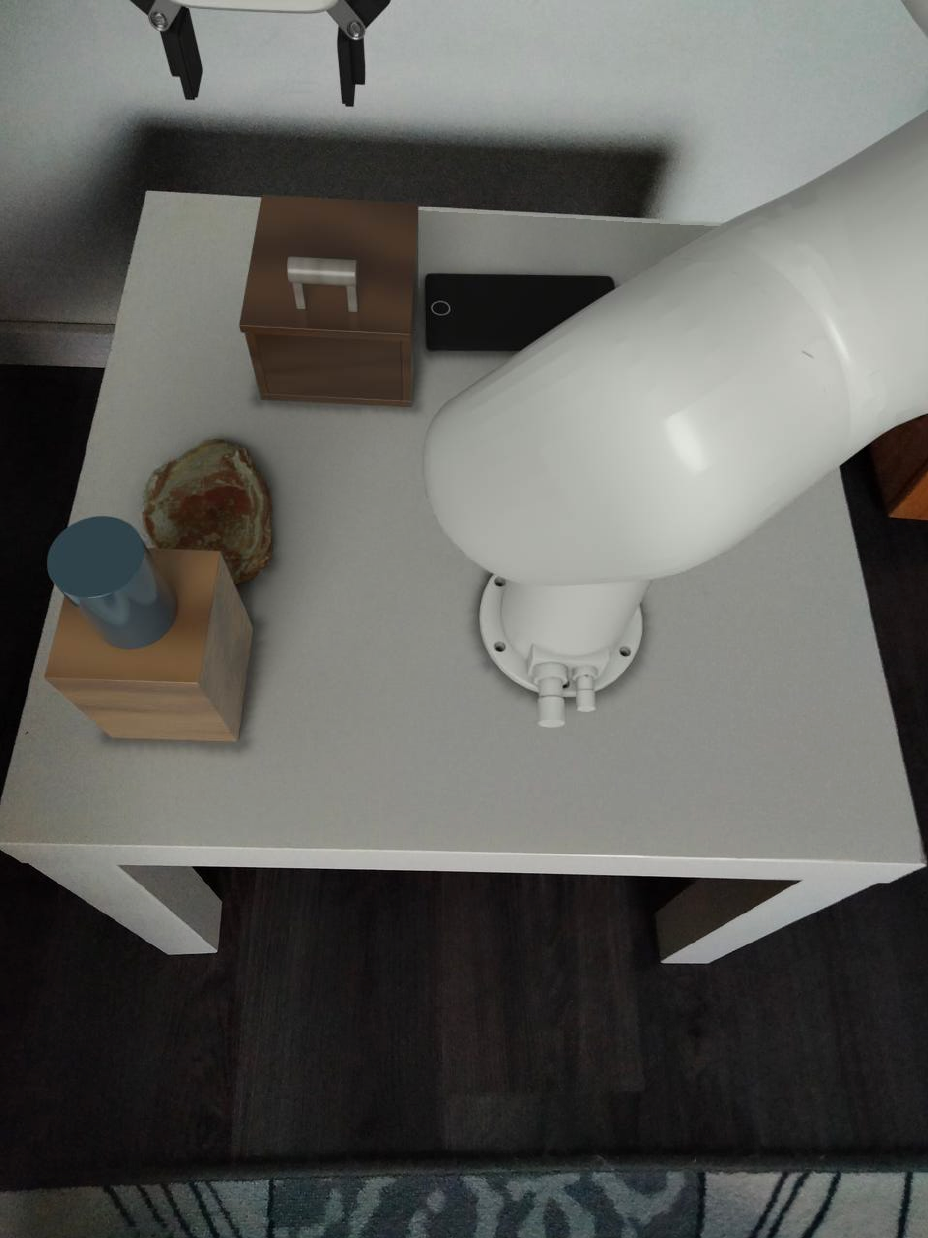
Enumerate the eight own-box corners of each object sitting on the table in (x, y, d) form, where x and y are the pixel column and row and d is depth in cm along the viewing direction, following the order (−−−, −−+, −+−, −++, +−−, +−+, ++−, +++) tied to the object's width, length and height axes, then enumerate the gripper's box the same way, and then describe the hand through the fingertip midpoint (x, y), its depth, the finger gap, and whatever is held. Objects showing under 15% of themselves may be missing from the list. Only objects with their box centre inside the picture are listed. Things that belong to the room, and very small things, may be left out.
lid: (410, 341, 65) (410, 289, 60) (240, 332, 65) (226, 279, 60) (418, 211, 71) (418, 155, 67) (263, 202, 71) (252, 145, 66)
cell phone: (424, 280, 80) (424, 272, 79) (611, 282, 81) (613, 274, 80) (426, 352, 76) (426, 344, 75) (621, 353, 77) (624, 346, 76)
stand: (238, 742, 60) (198, 683, 49) (110, 737, 60) (43, 678, 49) (253, 628, 64) (220, 550, 53) (134, 623, 64) (76, 544, 53)
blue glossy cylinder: (170, 651, 50) (134, 599, 44) (85, 648, 50) (37, 595, 44) (183, 577, 52) (151, 517, 46) (101, 573, 52) (58, 513, 46)
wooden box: (411, 407, 74) (411, 334, 66) (261, 399, 73) (242, 325, 65) (418, 291, 79) (418, 212, 71) (278, 284, 79) (263, 203, 71)
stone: (125, 488, 69) (112, 466, 66) (237, 438, 71) (229, 415, 68) (191, 616, 64) (180, 598, 61) (309, 558, 67) (303, 539, 64)
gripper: (-9, -268, 35) (122, 123, 51) (404, -243, 36) (409, 134, 52) (29, -343, 38) (141, 46, 54) (408, -318, 39) (411, 58, 55)
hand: (272, 89), depth 53 cm, fingers open, 9 cm apart
